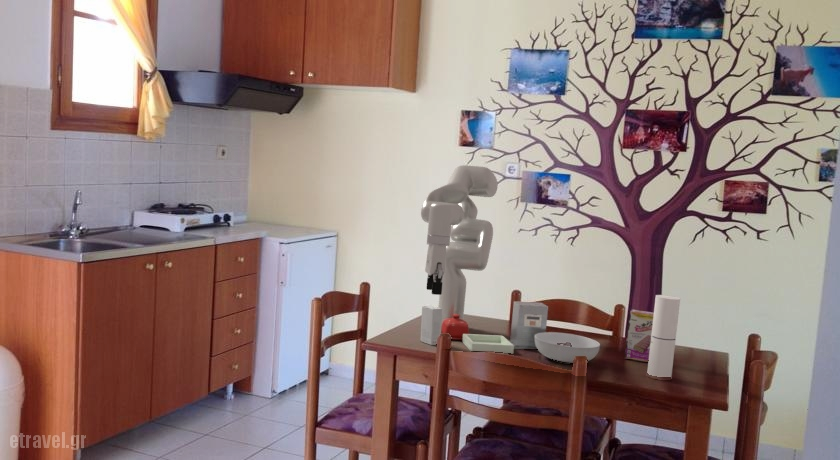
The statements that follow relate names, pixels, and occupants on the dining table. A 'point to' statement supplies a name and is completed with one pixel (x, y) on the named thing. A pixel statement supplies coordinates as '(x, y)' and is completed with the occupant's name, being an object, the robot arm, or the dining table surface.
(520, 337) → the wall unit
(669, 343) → the cylindrical container
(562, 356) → the serving bowl
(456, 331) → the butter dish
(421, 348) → the dining table surface
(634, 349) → the candy bar box
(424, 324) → the skincare box
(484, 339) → the tray
